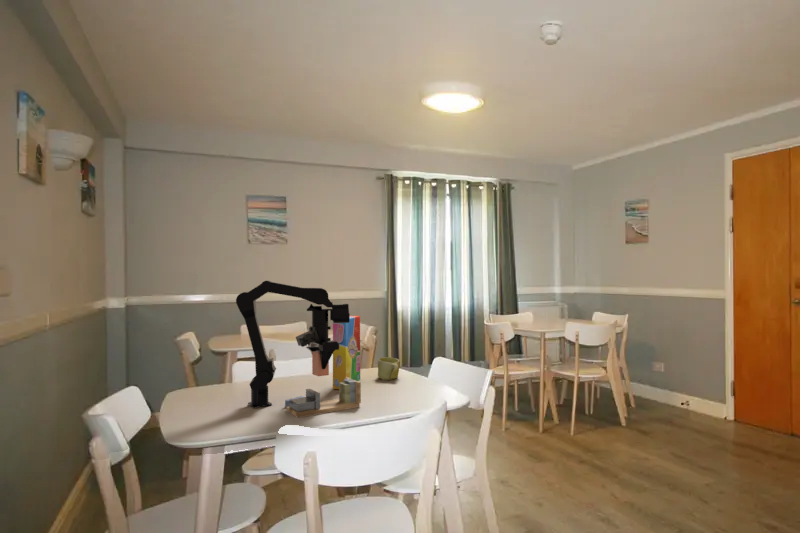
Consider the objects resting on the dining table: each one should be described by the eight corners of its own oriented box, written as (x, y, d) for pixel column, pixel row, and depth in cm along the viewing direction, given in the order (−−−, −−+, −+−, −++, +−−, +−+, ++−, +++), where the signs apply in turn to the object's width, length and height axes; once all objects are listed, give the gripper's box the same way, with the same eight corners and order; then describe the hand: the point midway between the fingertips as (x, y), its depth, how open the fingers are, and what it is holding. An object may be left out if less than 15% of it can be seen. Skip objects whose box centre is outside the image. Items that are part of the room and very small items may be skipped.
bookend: (288, 406, 166) (288, 391, 166) (310, 403, 170) (310, 388, 170) (298, 412, 159) (298, 396, 160) (320, 408, 164) (319, 393, 164)
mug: (370, 371, 221) (378, 351, 221) (392, 377, 224) (400, 357, 223) (376, 383, 210) (384, 360, 209) (398, 388, 213) (406, 367, 212)
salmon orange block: (312, 374, 179) (312, 351, 179) (322, 372, 181) (322, 350, 181) (318, 376, 175) (318, 353, 175) (328, 375, 177) (328, 352, 177)
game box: (345, 390, 195) (345, 319, 196) (332, 389, 196) (331, 319, 197) (360, 379, 216) (360, 315, 216) (348, 378, 217) (347, 315, 217)
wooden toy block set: (286, 410, 167) (286, 385, 167) (347, 400, 179) (346, 377, 179) (297, 417, 158) (297, 391, 158) (360, 406, 171) (360, 382, 171)
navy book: (285, 406, 171) (285, 400, 171) (300, 402, 177) (300, 396, 177) (295, 409, 168) (295, 402, 168) (310, 404, 174) (310, 398, 174)
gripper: (288, 322, 181) (288, 366, 181) (309, 327, 166) (309, 374, 166) (317, 321, 187) (317, 363, 187) (340, 325, 172) (340, 371, 172)
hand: (320, 367), depth 178 cm, fingers closed on salmon orange block, 5 cm apart
